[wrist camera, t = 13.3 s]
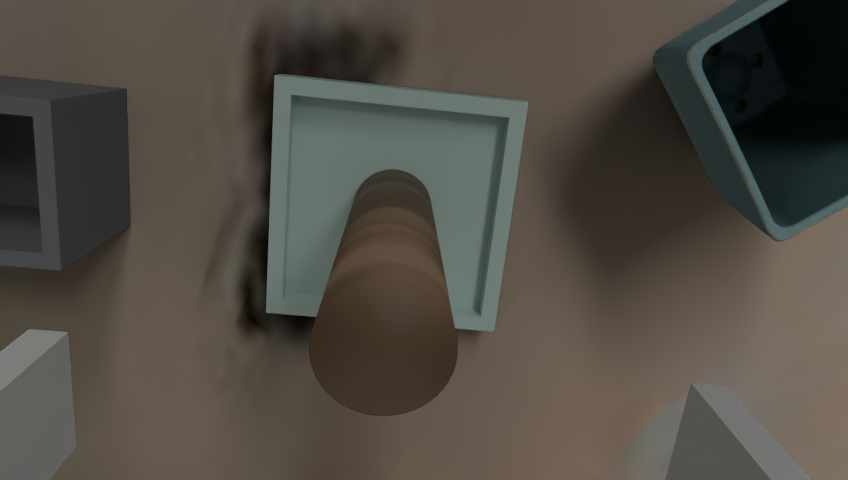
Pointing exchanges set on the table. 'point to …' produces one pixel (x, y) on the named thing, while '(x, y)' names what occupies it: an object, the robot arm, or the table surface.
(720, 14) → the flower pot
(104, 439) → the table surface
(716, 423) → the robot arm
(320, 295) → the tray
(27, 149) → the pen cup
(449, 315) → the dowel
